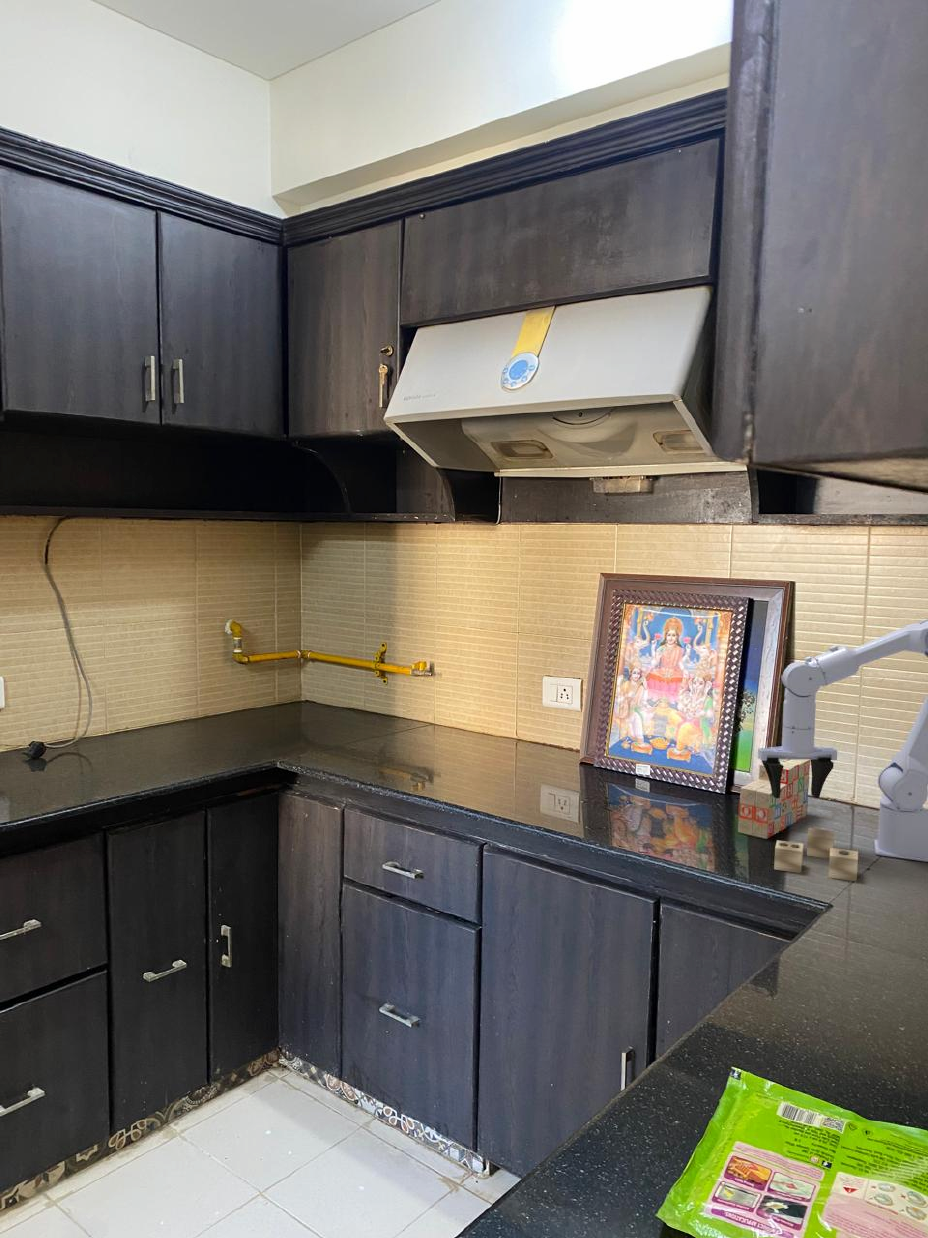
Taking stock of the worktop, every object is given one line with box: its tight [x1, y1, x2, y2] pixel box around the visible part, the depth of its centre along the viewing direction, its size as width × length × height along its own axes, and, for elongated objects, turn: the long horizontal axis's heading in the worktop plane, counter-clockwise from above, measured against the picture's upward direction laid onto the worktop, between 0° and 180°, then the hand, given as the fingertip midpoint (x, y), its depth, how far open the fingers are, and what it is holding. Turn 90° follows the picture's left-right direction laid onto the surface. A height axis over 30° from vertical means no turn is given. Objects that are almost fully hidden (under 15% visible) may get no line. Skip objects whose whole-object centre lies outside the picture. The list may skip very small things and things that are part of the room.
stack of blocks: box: [737, 759, 811, 840], centre depth 189 cm, size 21×6×12 cm, turn 140°
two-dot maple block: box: [773, 839, 804, 874], centre depth 165 cm, size 4×4×4 cm
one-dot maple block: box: [828, 847, 859, 882], centre depth 162 cm, size 4×4×4 cm
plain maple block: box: [806, 827, 835, 859], centre depth 172 cm, size 4×4×4 cm
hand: (795, 796), depth 176 cm, fingers open, 7 cm apart
